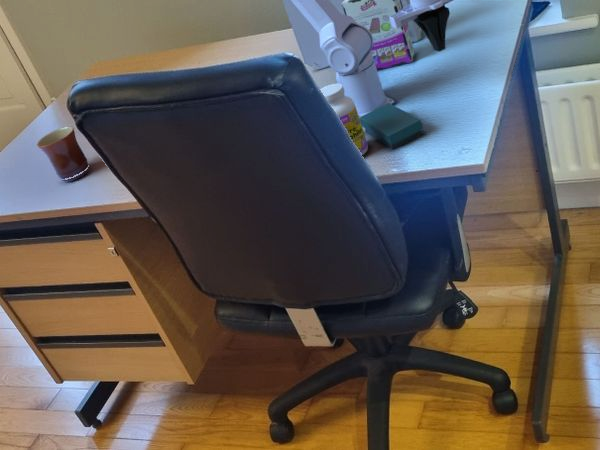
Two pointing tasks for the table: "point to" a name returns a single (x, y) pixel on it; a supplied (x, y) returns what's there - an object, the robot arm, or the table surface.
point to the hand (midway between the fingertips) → (439, 49)
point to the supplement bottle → (346, 114)
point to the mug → (64, 153)
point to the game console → (310, 37)
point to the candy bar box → (382, 30)
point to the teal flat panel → (391, 125)
